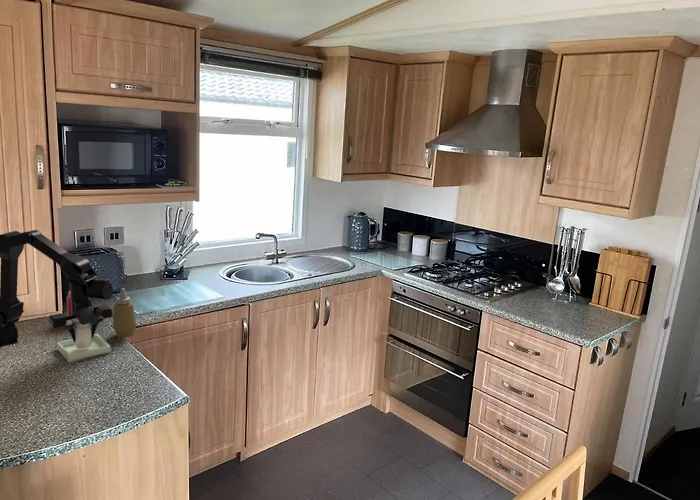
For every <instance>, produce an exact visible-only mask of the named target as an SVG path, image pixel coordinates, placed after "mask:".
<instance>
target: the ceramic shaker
mask: <svg viewBox="0 0 700 500" xmlns="http://www.w3.org/2000/svg"><path fill="white" fill-rule="evenodd" d="M73 325H74V333H75V340H76V342H75V347H76V348H87V347H90V346H91V345H92V335H91V324H90V323H88V324H85V325H82V324H80V322H79V320H74V324H73Z"/></svg>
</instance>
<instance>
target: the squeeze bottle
mask: <svg viewBox="0 0 700 500" xmlns="http://www.w3.org/2000/svg"><path fill="white" fill-rule="evenodd" d="M127 295H128V294H127V291H126V289H125V288H124V287H122V288H121V289H120V293H119V297H116V303H115V304H114V306H113V317H112V318H113V319H112V329H113V330H114V334H115V335H116V337H118V338H130V337H132V336H134V334H135V331H136V328H137V320H136V314H135V313H136V312H135V307H134V304H133V303H132V301H131V297H130V296H127Z"/></svg>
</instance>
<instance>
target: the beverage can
mask: <svg viewBox="0 0 700 500" xmlns="http://www.w3.org/2000/svg"><path fill="white" fill-rule="evenodd" d="M70 298H71V294H70V290H69V291H68V293H67V296H66V307H67V308H66V310H67V316H68V315H72V313H71V310H72V308H71V301H70ZM72 324H73V325H74V320H73V321H72Z"/></svg>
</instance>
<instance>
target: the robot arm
mask: <svg viewBox="0 0 700 500" xmlns="http://www.w3.org/2000/svg"><path fill="white" fill-rule="evenodd" d="M25 245H30V246H31V247H33V248H34V249H36V251H38V252H40V253H41V254H43V255H44V256H45V257H48V259H50V260H52V261H53V262H55V263H56V264H57V265H58V266H59V268H60V270H61V272H63V273H64V274H65V276H66V279H65V280H63V281H62V282H63V284H66V285H67V284H69V291H70V294H71V298H70V301H71V308H72V310H71V313H72V315H68V314H67V315H64V314H63V313H62V312H61V313H56V314H50V315H49V317H48V323H49V325H50V326H52V328H53V329H56V328H57V329H58V328H62V327H63V329H66V330H67V332H68V334H69V336H70V338H71V339H73V341H74V342H76V340H75V333H74V324H72V321H73V320H79V322H80V324H82V325H85V324H88V323H90V324H91V335H92V338H93V336H94V334H96V330H97V328H98V325H99V323H101V322H103V321H104V319H109V318H113V315H114V310H113V309H112V308H111V307H110V306H109V305H101V306H99V305H98V306H93V305H92V300H91V299H97V300H109V299H111V297H112V296H113V292H114V287H113V284H112V283H111V282H109V279H108V278H100V276H99V274H98V273H97V271H96V270H95V269H94V267H93V266H92V265H91V264H92V263H91V261H90V260H88V259H87V258H85V257H83V256H82V255H78V254H74V253H72V252H71V253H70V252H69V251H68V250H65V249H64V248H63V247H62V246H60V245H59V244H58V243H55V242H54V241H53V240H51V239H50V238H48V237H47V236H45V235H44V234H42V232H41V231H40V230H37V229H33V230H29V231H23V232H20V231H17V230H13V231H9V232H5V233H2V234H0V345H1V346H6V345H10V344H15V343H18V342H19V340H18V339H19V331H18V327H17V325H16V324H15V323H18V322H19V321H20V318H21V317H22V315H23V313H25V311H24V305H25V302H23V301H20V299H19V298H18V275H19V274H18V270H19V266H18V265H19V257H20V256H21V254H22V253H23V251H24V248H25ZM83 276H84V277H83Z"/></svg>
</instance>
